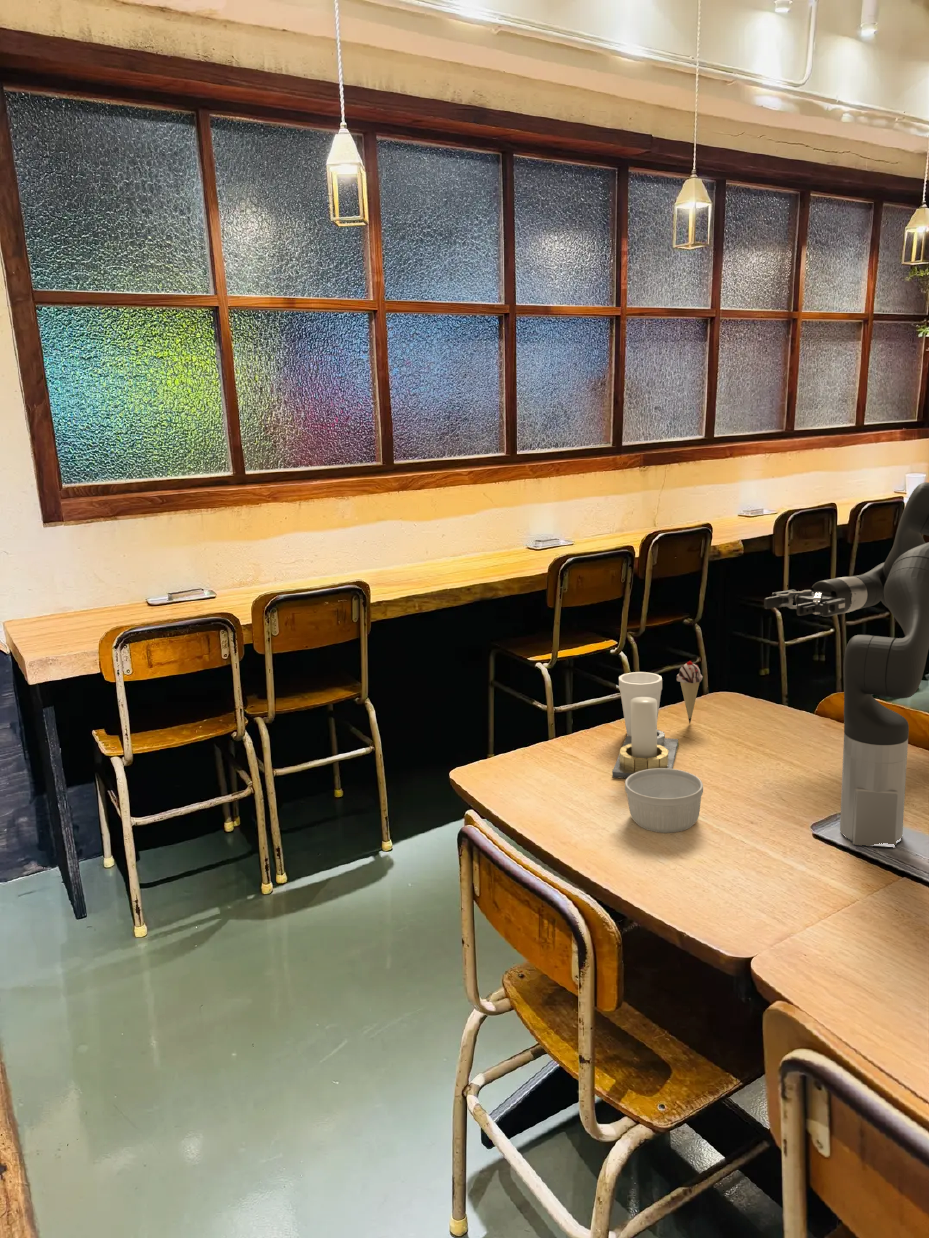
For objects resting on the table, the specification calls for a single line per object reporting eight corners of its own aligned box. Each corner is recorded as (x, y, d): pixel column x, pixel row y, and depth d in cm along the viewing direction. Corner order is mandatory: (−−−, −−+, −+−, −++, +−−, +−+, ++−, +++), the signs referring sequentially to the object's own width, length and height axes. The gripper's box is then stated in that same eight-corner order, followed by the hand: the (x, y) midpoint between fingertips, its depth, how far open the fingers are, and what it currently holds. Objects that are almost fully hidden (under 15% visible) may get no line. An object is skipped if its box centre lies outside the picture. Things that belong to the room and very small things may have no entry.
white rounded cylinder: (655, 768, 166) (654, 705, 163) (629, 766, 168) (628, 703, 165) (658, 759, 171) (658, 697, 168) (634, 757, 172) (633, 696, 170)
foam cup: (631, 724, 195) (630, 670, 192) (669, 730, 189) (668, 674, 187) (612, 737, 187) (611, 681, 184) (651, 744, 182) (651, 686, 179)
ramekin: (618, 831, 144) (617, 793, 143) (633, 799, 156) (632, 764, 155) (698, 841, 139) (698, 802, 138) (707, 807, 151) (707, 771, 150)
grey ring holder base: (669, 781, 163) (669, 763, 162) (612, 777, 166) (612, 759, 165) (678, 744, 181) (678, 727, 180) (626, 741, 185) (626, 725, 184)
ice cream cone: (671, 722, 194) (671, 660, 191) (691, 718, 196) (691, 656, 193) (688, 730, 189) (687, 665, 185) (708, 725, 191) (708, 661, 188)
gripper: (811, 574, 182) (755, 584, 175) (868, 582, 169) (810, 593, 162) (810, 608, 183) (754, 619, 177) (866, 619, 171) (809, 631, 164)
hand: (781, 607), depth 169 cm, fingers open, 8 cm apart
